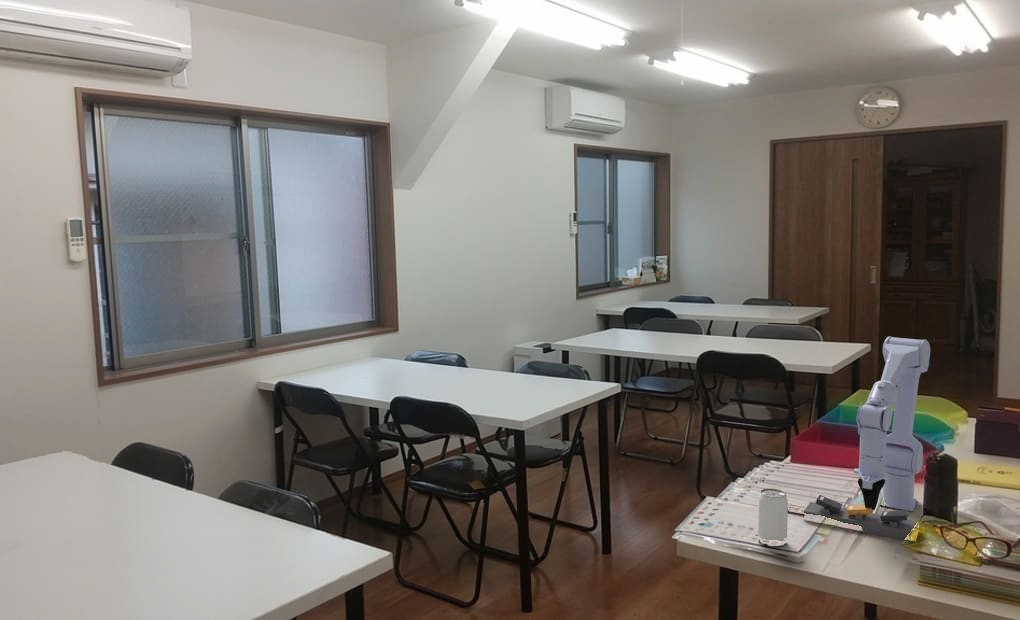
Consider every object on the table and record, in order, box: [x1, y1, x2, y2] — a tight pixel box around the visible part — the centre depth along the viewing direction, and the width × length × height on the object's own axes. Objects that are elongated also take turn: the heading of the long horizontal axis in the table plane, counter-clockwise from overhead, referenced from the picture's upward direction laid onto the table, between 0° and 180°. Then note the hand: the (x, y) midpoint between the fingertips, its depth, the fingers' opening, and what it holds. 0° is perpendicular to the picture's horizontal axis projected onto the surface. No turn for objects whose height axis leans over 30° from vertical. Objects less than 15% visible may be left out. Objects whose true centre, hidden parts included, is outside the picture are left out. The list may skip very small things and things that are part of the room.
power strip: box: [803, 501, 918, 541], centre depth 185 cm, size 7×30×4 cm, turn 56°
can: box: [757, 488, 789, 540], centre depth 175 cm, size 6×6×12 cm
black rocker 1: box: [814, 494, 843, 513], centre depth 187 cm, size 4×6×2 cm, turn 56°
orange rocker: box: [846, 504, 875, 516], centre depth 183 cm, size 4×6×2 cm, turn 56°
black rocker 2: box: [880, 510, 909, 522], centre depth 179 cm, size 4×6×2 cm, turn 56°
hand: (870, 508), depth 182 cm, fingers closed, pressing on orange rocker
